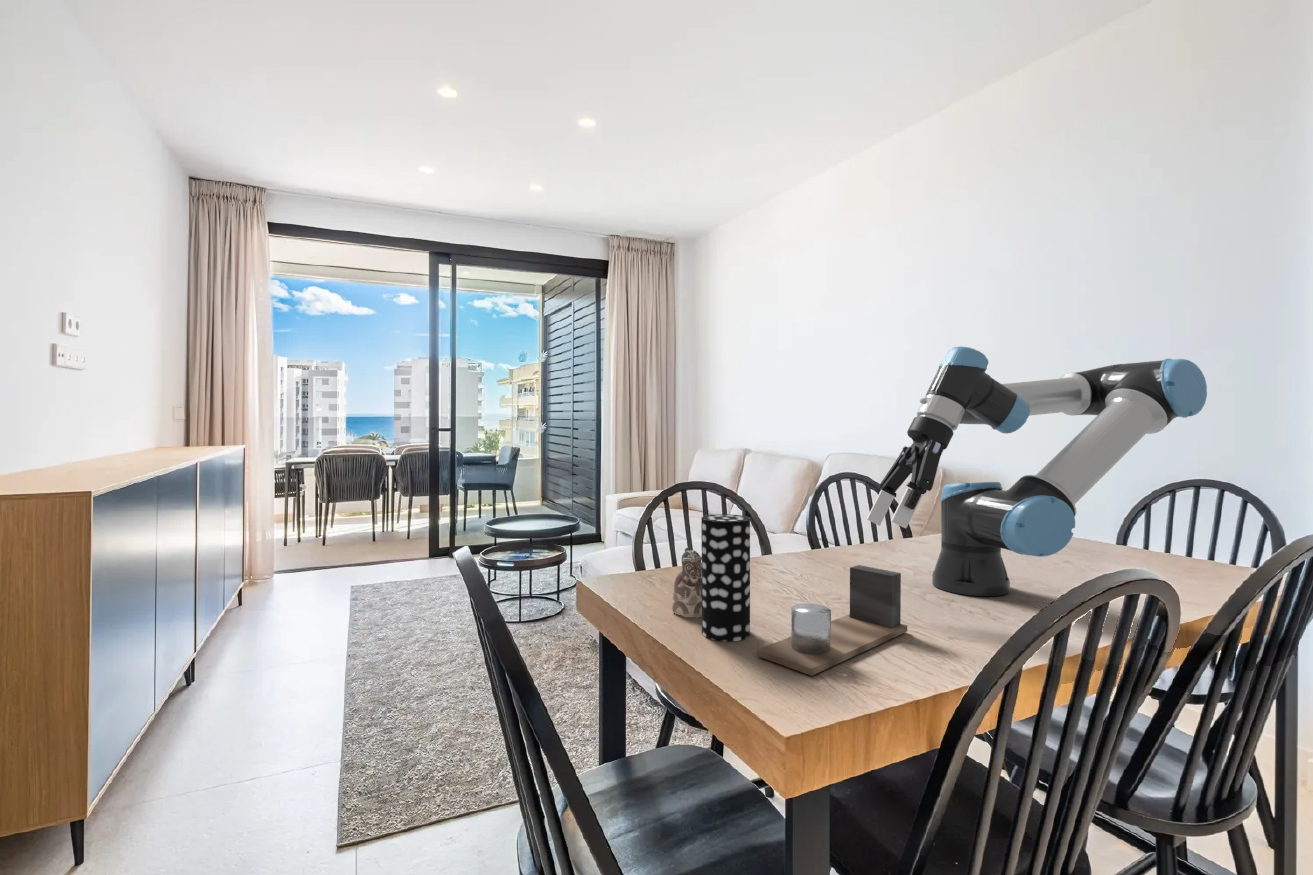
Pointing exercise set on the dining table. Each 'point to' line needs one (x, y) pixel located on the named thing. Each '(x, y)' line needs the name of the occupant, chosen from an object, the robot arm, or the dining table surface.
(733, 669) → the dining table surface
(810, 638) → the steel tin
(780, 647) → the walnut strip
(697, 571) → the figurine
